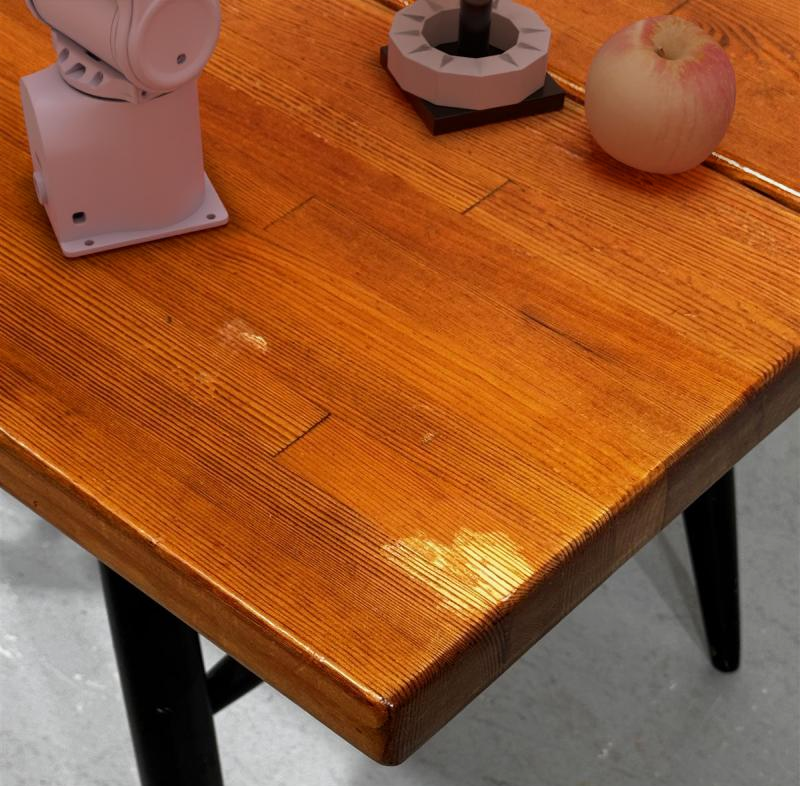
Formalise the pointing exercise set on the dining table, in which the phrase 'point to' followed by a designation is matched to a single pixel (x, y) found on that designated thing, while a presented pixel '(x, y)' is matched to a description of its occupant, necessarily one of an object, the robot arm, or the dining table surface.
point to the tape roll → (462, 76)
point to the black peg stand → (476, 45)
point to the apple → (660, 95)
